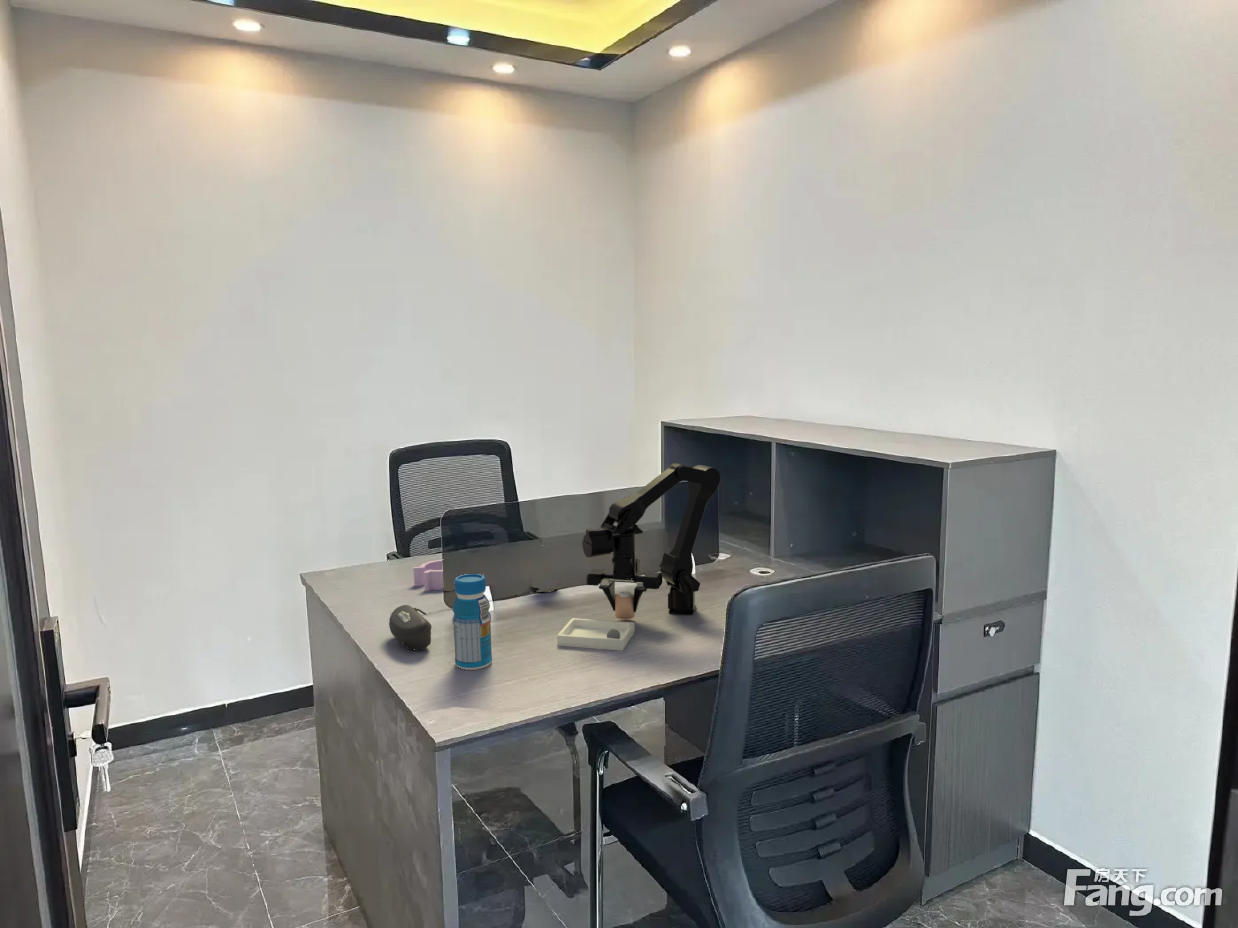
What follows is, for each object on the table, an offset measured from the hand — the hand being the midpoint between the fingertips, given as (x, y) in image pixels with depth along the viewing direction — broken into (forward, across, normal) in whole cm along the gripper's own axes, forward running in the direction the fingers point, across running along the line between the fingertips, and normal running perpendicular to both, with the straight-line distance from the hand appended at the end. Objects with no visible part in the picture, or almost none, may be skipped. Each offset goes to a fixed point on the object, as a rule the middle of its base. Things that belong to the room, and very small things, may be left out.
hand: (624, 611), depth 200 cm
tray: (+3, +4, +13) cm, 14 cm away
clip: (+3, +58, -19) cm, 61 cm away
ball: (+2, -1, +16) cm, 16 cm away
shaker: (+1, 0, 0) cm, 1 cm away
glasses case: (+3, +46, +24) cm, 52 cm away
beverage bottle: (+3, +27, +33) cm, 43 cm away
